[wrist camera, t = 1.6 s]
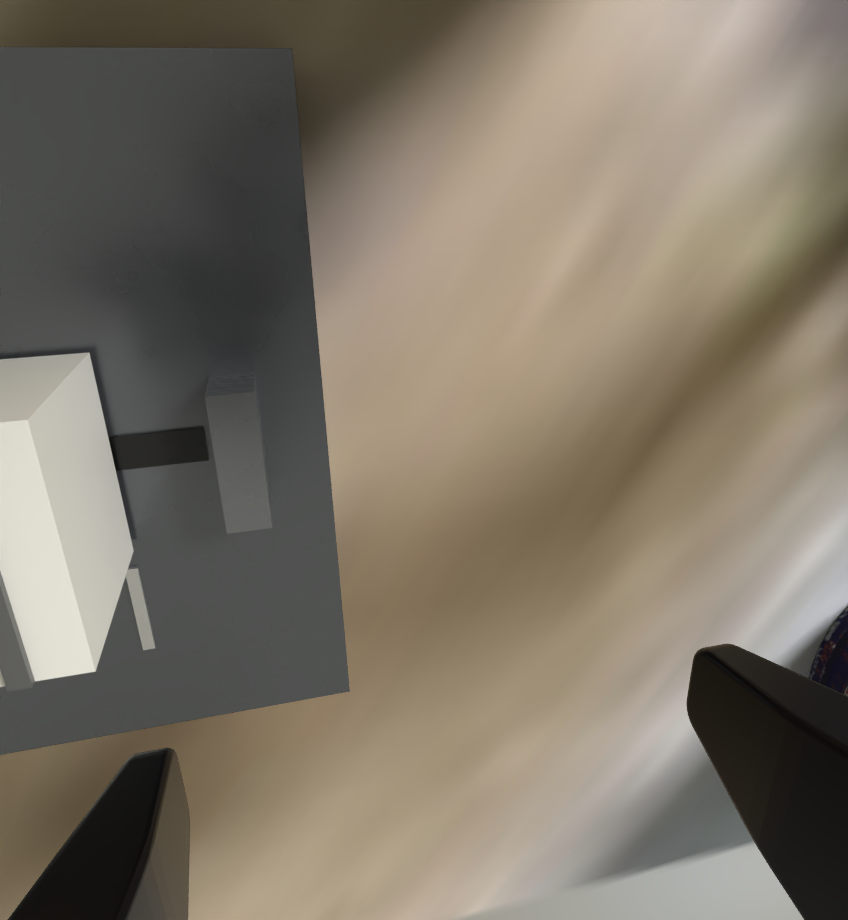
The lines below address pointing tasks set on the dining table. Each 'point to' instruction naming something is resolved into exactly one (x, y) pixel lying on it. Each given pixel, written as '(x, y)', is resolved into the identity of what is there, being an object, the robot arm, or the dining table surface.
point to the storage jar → (833, 657)
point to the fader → (56, 521)
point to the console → (179, 370)
